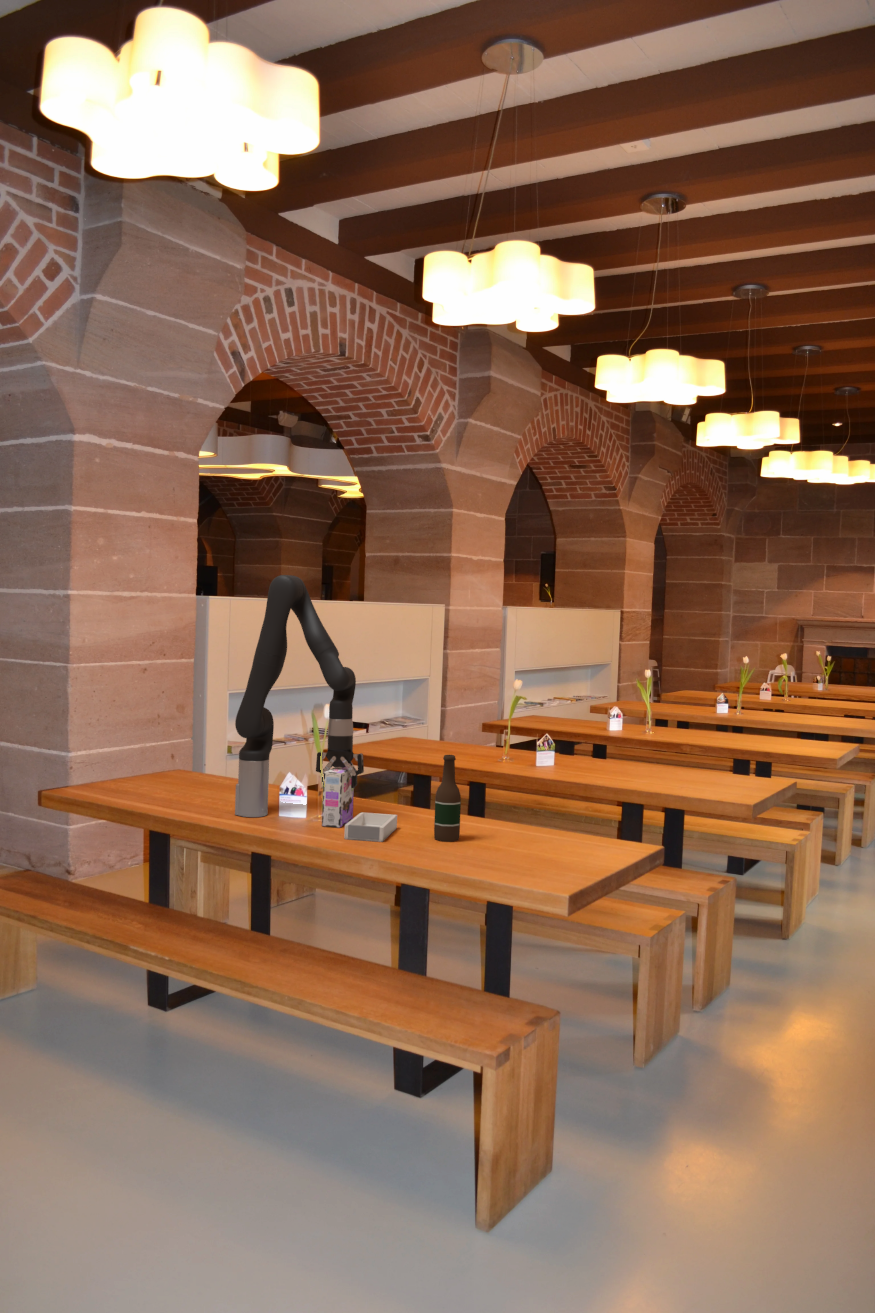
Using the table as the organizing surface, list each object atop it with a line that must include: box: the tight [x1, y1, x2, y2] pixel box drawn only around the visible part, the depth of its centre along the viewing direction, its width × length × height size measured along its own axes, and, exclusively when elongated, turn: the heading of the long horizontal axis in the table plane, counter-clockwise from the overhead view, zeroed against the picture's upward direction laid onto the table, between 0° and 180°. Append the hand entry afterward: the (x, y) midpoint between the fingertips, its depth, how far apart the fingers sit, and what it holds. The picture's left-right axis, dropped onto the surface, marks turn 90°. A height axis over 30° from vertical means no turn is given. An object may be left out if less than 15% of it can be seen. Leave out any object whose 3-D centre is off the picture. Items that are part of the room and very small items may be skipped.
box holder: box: [343, 812, 398, 843], centre depth 286 cm, size 11×19×4 cm, turn 171°
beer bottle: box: [433, 754, 462, 843], centre depth 282 cm, size 8×8×24 cm
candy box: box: [321, 767, 355, 829], centre depth 298 cm, size 14×6×16 cm, turn 168°
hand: (339, 787), depth 298 cm, fingers open, 8 cm apart
